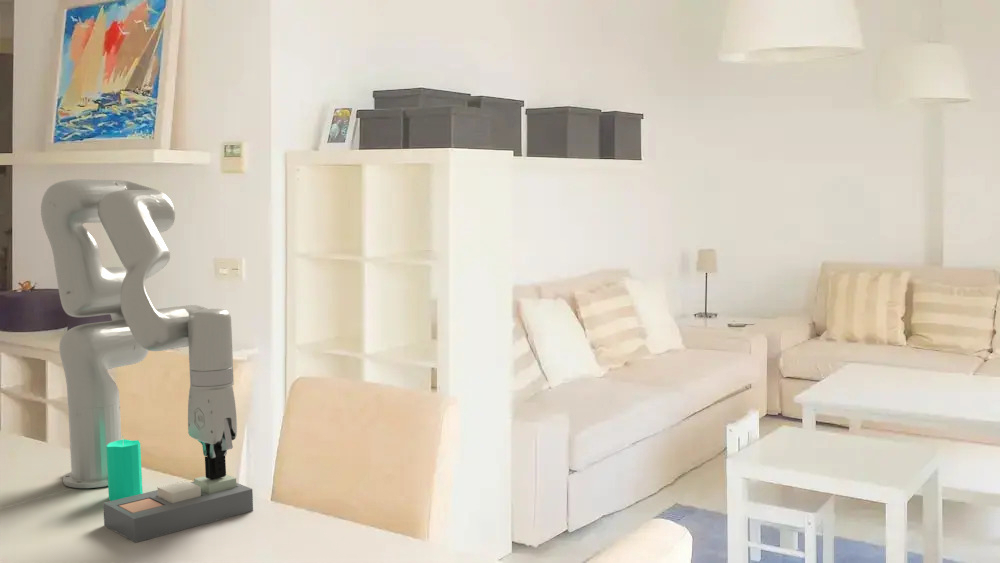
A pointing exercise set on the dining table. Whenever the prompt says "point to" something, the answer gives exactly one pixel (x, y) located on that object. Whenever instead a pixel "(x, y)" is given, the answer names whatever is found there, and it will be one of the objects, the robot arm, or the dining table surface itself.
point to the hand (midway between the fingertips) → (215, 477)
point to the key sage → (215, 484)
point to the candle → (124, 469)
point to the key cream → (179, 491)
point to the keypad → (175, 512)
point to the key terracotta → (140, 505)
